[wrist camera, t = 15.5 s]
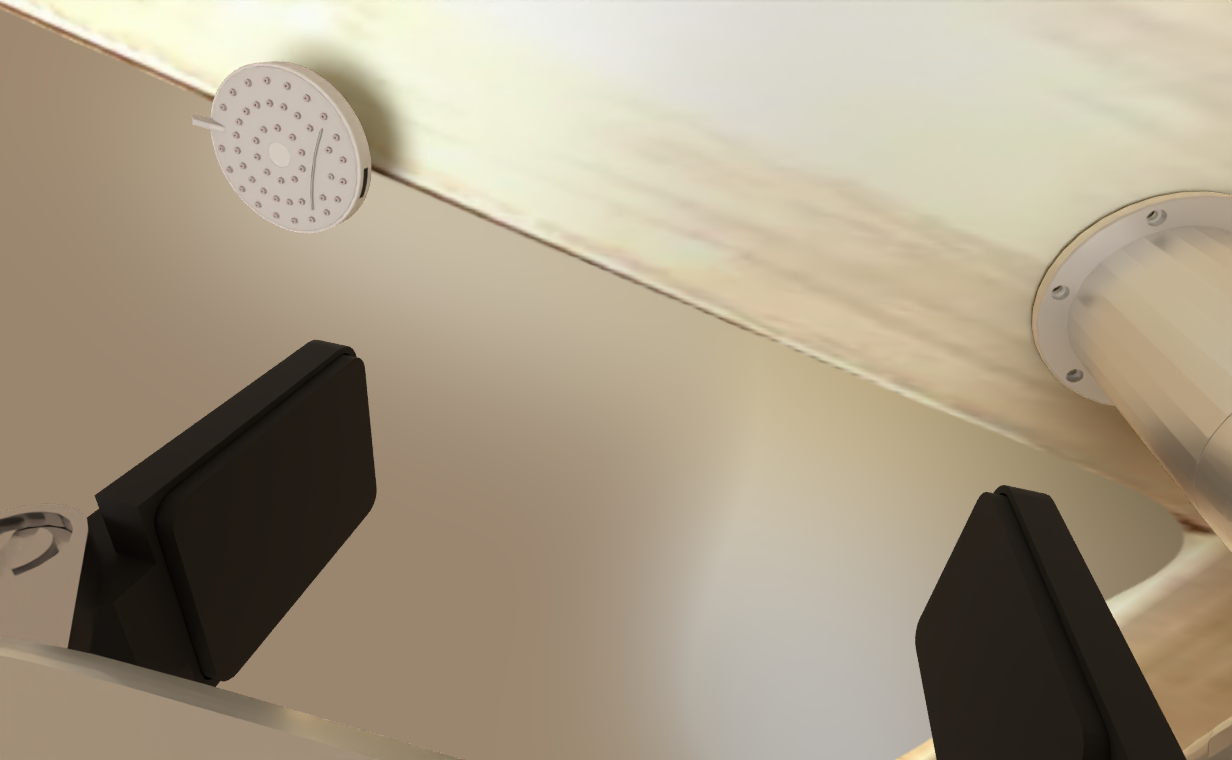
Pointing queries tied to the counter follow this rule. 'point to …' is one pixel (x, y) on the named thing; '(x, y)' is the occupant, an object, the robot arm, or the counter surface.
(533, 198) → the counter surface
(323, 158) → the showerhead
